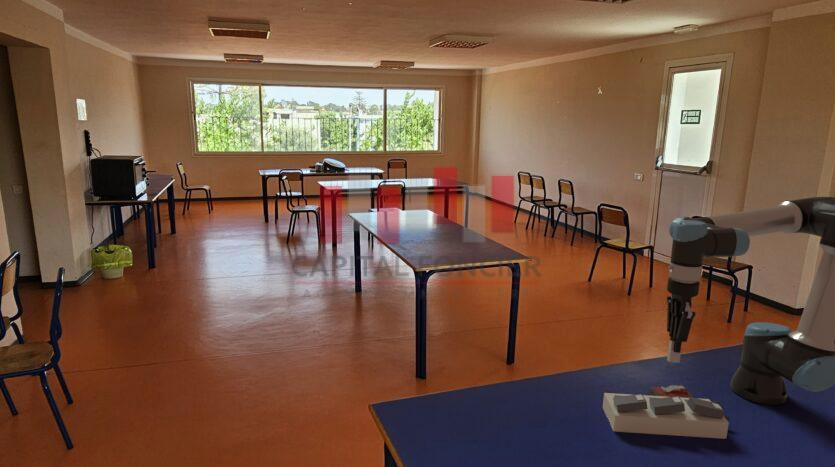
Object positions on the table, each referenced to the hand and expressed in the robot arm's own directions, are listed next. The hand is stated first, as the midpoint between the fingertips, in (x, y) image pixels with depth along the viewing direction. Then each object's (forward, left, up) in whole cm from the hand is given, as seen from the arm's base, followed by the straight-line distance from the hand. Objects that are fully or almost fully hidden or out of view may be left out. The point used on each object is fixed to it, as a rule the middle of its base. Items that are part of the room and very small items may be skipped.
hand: (673, 361), depth 141 cm
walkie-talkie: (-11, -16, -21) cm, 28 cm away
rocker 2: (0, 0, -14) cm, 14 cm away
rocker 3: (-10, 0, -14) cm, 17 cm away
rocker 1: (+10, 0, -14) cm, 18 cm away
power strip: (-2, -2, -20) cm, 21 cm away
